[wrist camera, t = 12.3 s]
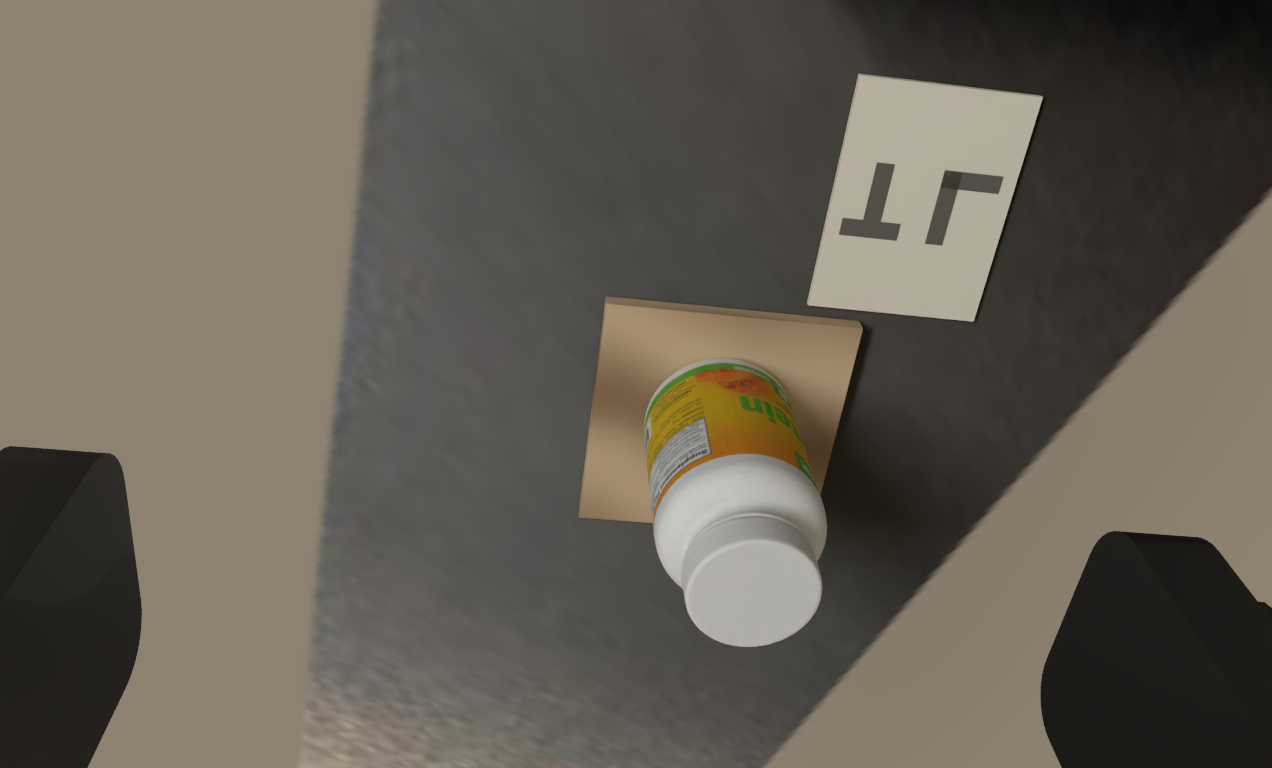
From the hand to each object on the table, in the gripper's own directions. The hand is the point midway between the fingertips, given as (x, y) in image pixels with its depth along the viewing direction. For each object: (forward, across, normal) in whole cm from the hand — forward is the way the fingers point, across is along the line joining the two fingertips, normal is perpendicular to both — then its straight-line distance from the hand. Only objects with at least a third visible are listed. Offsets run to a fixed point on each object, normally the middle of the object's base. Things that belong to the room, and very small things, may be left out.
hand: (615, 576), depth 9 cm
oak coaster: (+27, -6, +15) cm, 32 cm away
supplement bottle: (+27, -6, +15) cm, 31 cm away
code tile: (+28, -12, +6) cm, 30 cm away
